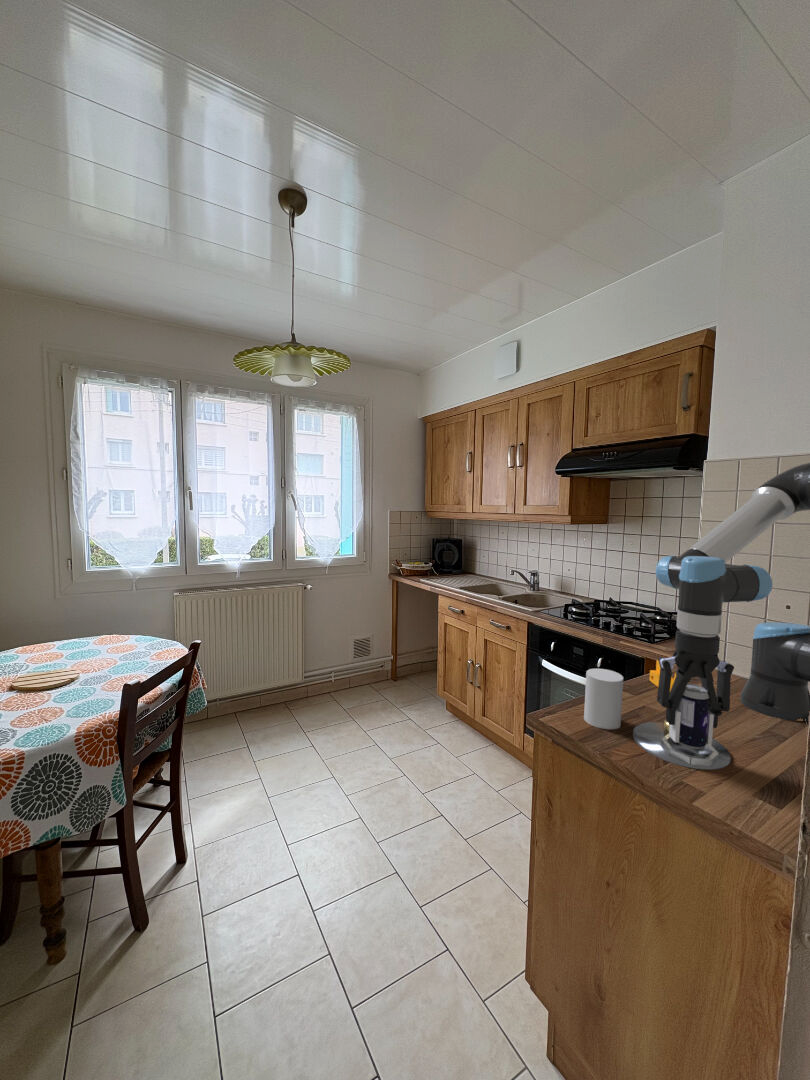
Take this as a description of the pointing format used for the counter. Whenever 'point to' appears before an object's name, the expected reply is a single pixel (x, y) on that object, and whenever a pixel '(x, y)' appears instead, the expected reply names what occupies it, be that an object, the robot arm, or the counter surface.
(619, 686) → the white cylinder
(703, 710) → the beverage can
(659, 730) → the carrier
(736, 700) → the counter surface
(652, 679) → the pipe clamp
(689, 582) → the robot arm
